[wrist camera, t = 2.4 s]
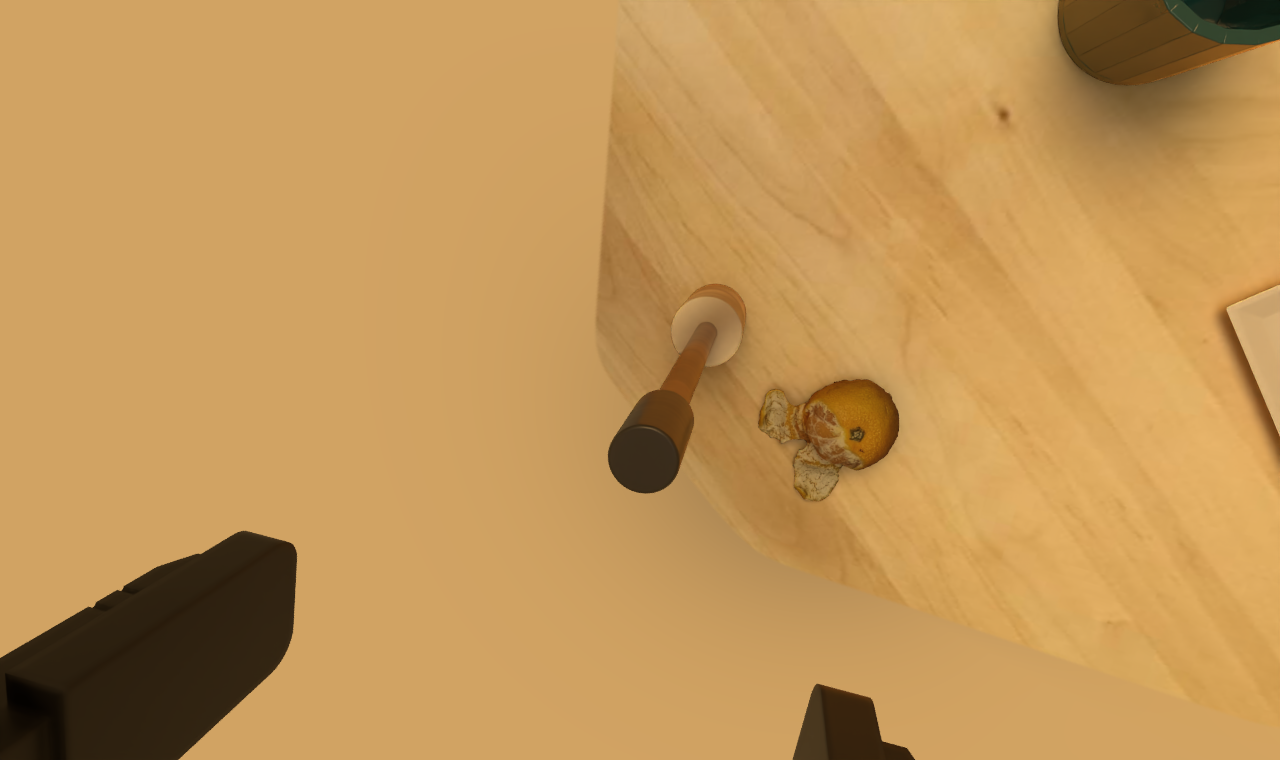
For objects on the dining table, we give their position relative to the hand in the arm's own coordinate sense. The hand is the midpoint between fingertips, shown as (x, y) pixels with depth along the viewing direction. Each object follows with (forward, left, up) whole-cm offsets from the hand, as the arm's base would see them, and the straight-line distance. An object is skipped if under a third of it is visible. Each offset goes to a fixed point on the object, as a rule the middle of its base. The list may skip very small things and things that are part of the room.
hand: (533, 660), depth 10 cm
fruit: (+10, -1, -37) cm, 39 cm away
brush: (0, 0, -37) cm, 37 cm away
